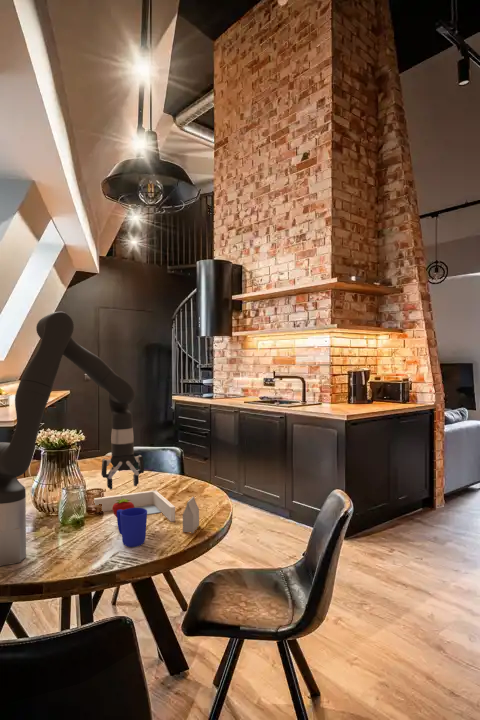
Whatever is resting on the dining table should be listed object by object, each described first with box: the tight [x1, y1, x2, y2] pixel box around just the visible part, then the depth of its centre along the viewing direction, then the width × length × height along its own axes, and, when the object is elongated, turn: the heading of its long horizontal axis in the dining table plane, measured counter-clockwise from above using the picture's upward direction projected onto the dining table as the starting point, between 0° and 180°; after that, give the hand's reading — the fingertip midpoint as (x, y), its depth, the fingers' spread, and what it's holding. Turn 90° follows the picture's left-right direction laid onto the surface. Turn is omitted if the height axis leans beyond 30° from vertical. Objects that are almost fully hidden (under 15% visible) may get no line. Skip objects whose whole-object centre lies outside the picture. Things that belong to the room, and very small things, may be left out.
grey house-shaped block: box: [182, 496, 200, 534], centre depth 157 cm, size 4×7×10 cm, turn 169°
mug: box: [116, 508, 148, 548], centre depth 146 cm, size 8×12×10 cm
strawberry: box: [112, 498, 134, 518], centre depth 163 cm, size 6×8×10 cm
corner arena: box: [93, 489, 176, 523], centre depth 171 cm, size 24×24×5 cm
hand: (123, 487), depth 163 cm, fingers open, 8 cm apart
